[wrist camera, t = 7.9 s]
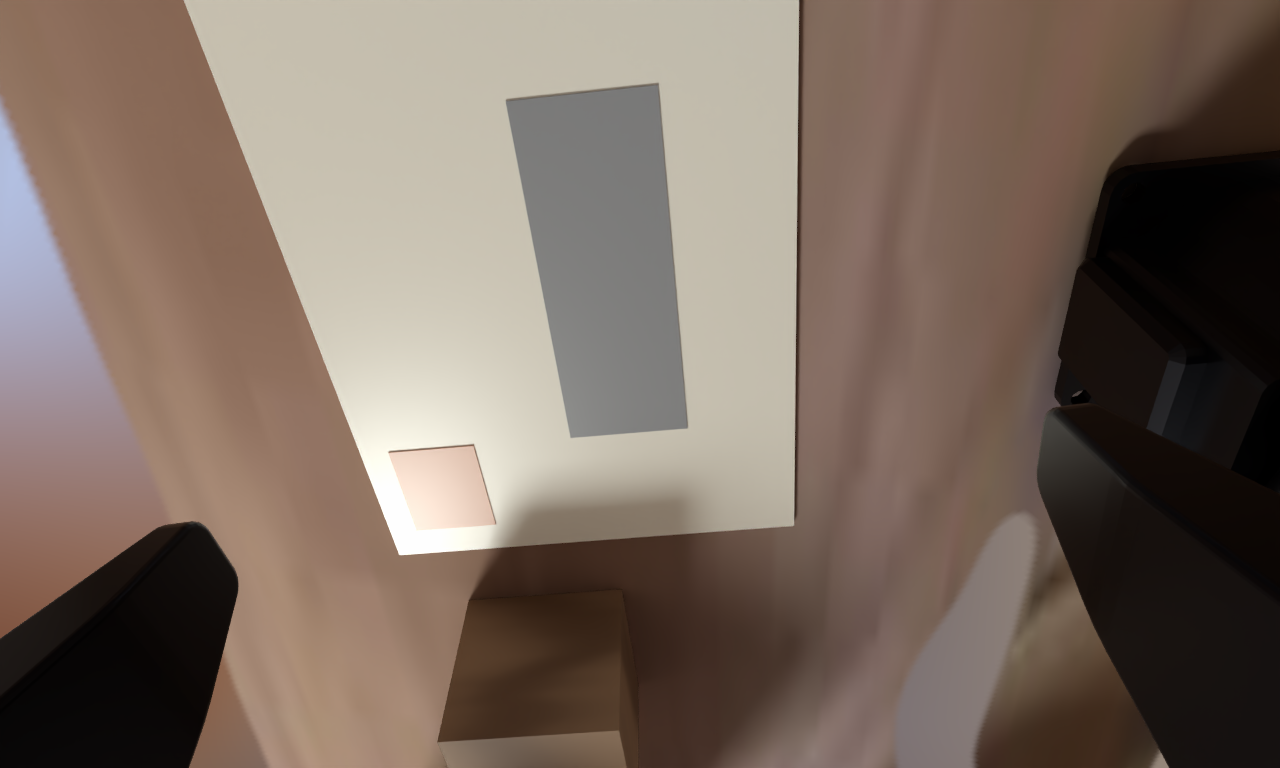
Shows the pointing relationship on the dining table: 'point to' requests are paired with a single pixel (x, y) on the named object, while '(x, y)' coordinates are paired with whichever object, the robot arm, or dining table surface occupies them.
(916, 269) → the dining table surface
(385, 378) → the letter
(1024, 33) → the dining table surface
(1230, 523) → the robot arm
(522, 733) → the walnut block
